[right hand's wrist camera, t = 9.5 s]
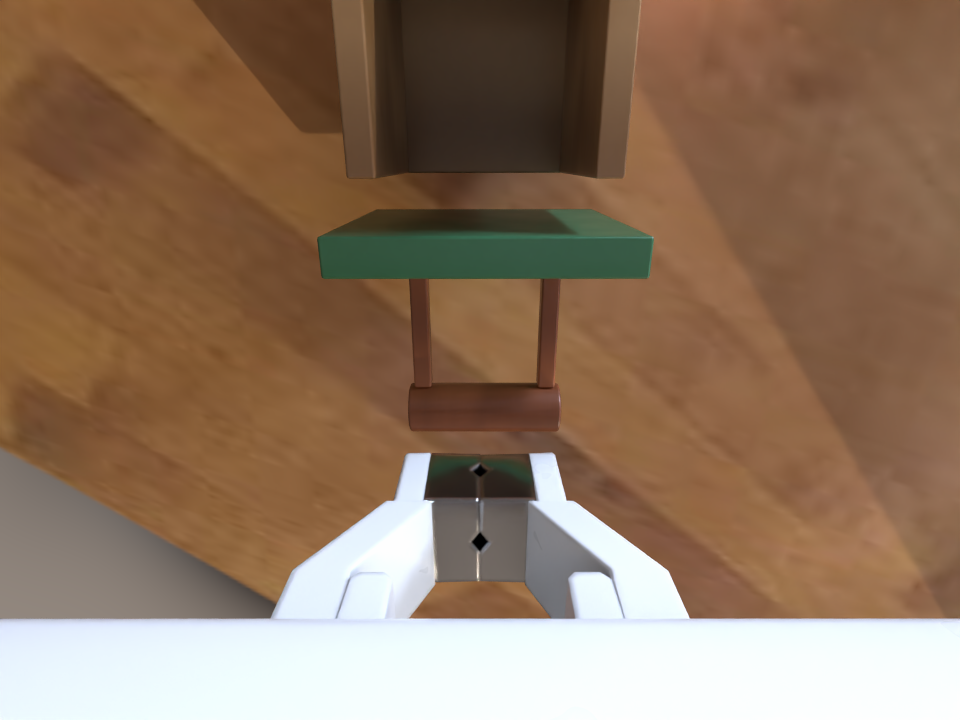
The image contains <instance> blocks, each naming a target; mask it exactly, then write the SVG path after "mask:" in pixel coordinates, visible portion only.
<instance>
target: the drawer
mask: <svg viewBox="0 0 960 720" xmlns="http://www.w3.org/2000/svg"><path fill="white" fill-rule="evenodd" d="M641 1H642V0H331V9H332V20H333V31H334V42H335V53H336V64H337V75H338V86H339V97H340V108H341V119H342V130H343V142H344V153H345V164H346V175H347V177H348V178H349V179H374V178H380V177H386V176H392V175H397V174H403V173H566V174H573V175H579V176H585V177H591V178H624V177H625V168H626V157H627V147H628V136H629V126H630V115H631V105H632V95H633V84H634V74H635V63H636V53H637V42H638V32H639V21H640V11H641ZM317 242H318V251H319V259H320V268H321V276H322V278H324V279H409V286H410V305H411V324H412V343H413V362H414V381H415V383H412V384H411V386H410V390H409V399H408V419H409V426H410V429H411V431H558V430H559V427H560V421H561V396H560V389H559V386H558V384H557V383H555V367H556V349H557V332H558V314H559V296H560V279H647V278H649V275H650V267H651V259H652V250H653V242H654V238H653V237H652V236H650V235H648V234H645V233H643V232H641V231H639V230H636V229H634V228H632V227H630V226H628V225H625V224H623V223H621V222H619V221H616V220H614V219H612V218H610V217H607V216H605V215H603V214H601V213H599V212H596V211H594V210H592V209H396V210H375V211H373V212H370V213H368V214H366V215H364V216H362V217H360V218H358V219H356V220H353V221H351V222H349V223H347V224H345V225H343V226H341V227H339V228H337V229H334V230H332V231H330V232H328V233H326V234H324V235H322V236H320V237H318V239H317ZM429 279H541V284H540V308H539V331H538V355H537V379H536V381H537V383H432V381H433V378H432V352H431V326H430V299H429Z"/></svg>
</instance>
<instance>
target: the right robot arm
mask: <svg viewBox="0 0 960 720" xmlns="http://www.w3.org/2000/svg"><path fill="white" fill-rule="evenodd" d="M461 581H498V582H525V585H526V586H527V588H528V589H529V590H530V591H531V593H532V594H533V595H534V597H535V598H536V599H537V600H538V602H539V603H540V604H541V606H542V607H543V608H544V609H545V611H546V612H547V613H548V615H549V616H550V617H551V618H552V619H409V618H410V616H411V615H412V614H413V612H414V611H415V610H416V609H417V607H418V606H419V605H420V603H421V602H422V601H423V600H424V598H425V597H426V596H427V594H428V593H429V592H430V591H431V589H432V588H433V587H434V585H435V582H461ZM0 720H960V619H690V618H689V616H688V614H687V612H686V609H685V607H684V605H683V603H682V601H681V598H680V596H679V594H678V592H677V589H676V587H675V585H674V583H673V581H672V578H671V576H670V574H669V572H668V570H666V569H665V568H664V567H662V566H661V565H660V564H658V563H657V562H656V561H654V560H653V559H651V558H650V557H649V556H647V555H646V554H645V553H643V552H642V551H641V550H639V549H638V548H637V547H635V546H634V545H633V544H631V543H630V542H628V541H627V540H626V539H624V538H623V537H622V536H620V535H619V534H618V533H616V532H615V531H614V530H612V529H611V528H610V527H608V526H607V525H606V524H604V523H603V522H601V521H600V520H599V519H597V518H596V517H595V516H593V515H592V514H591V513H589V512H588V511H587V510H585V509H584V508H583V507H581V506H580V505H578V504H577V503H576V502H574V501H566V497H565V493H564V489H563V485H562V481H561V477H560V473H559V469H558V465H557V462H556V458H555V455H554V454H553V453H531V454H494V455H480V454H446V453H432V454H431V453H407V454H406V455H405V457H404V461H403V465H402V469H401V473H400V477H399V481H398V485H397V489H396V493H395V497H394V501H386V502H384V503H383V504H382V505H380V506H379V507H377V508H376V509H375V510H373V511H372V512H371V513H369V514H368V515H367V516H365V517H364V518H363V519H361V520H360V521H358V522H357V523H356V524H354V525H353V526H352V527H350V528H349V529H348V530H346V531H345V532H344V533H342V534H341V535H339V536H338V537H337V538H335V539H334V540H333V541H331V542H330V543H329V544H327V545H326V546H324V547H323V548H322V549H320V550H319V551H318V552H316V553H315V554H314V555H312V556H311V557H310V558H308V559H307V560H305V561H304V562H303V563H301V564H300V565H299V566H297V567H296V568H295V569H293V570H292V572H291V575H290V577H289V579H288V581H287V583H286V585H285V588H284V590H283V592H282V594H281V596H280V599H279V601H278V603H277V605H276V607H275V609H274V612H273V614H272V616H271V618H270V619H0Z"/></svg>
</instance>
